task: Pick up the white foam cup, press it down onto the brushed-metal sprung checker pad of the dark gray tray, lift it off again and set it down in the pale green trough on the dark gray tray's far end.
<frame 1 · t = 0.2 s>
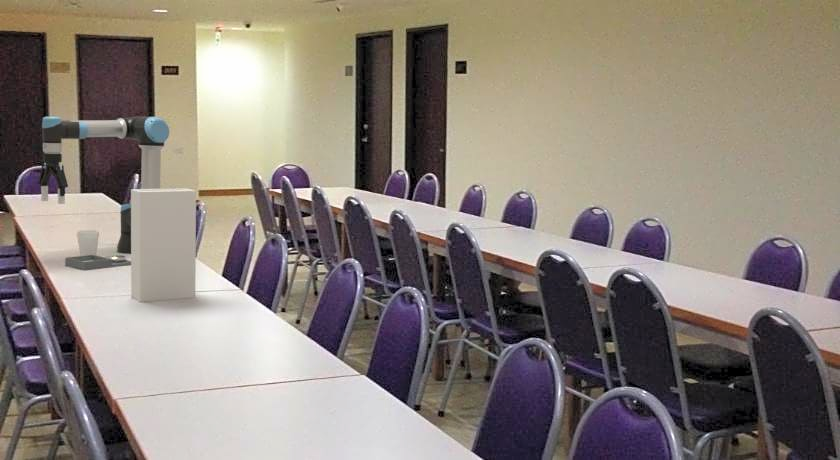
hand: (53, 202, 411), 27 cm above the table, fingers open, 13 cm apart
storage box: (163, 297, 356), on the table
foam cup: (88, 260, 430), on the table
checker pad: (114, 258, 423), point 2 cm above the table, slide at 0.0 cm
dark gray tray: (100, 264, 418), on the table
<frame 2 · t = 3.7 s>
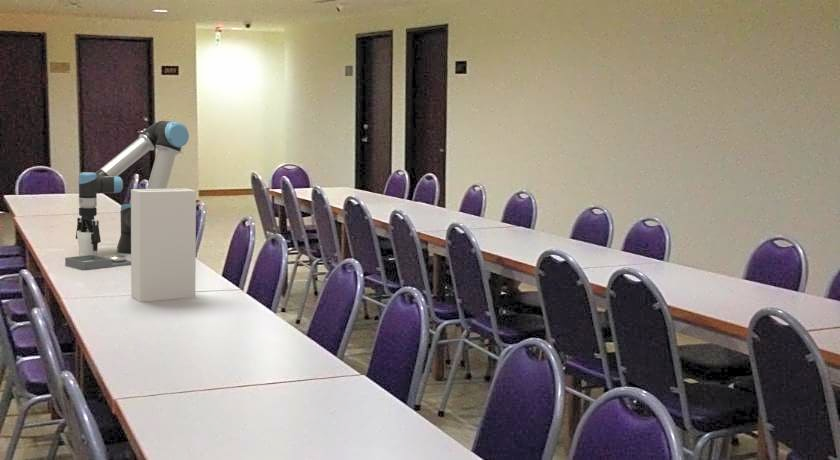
hand: (88, 256, 430), 2 cm above the table, fingers closed on foam cup, 9 cm apart
foam cup: (88, 260, 430), on the table, touching gripper
everything else where it was.
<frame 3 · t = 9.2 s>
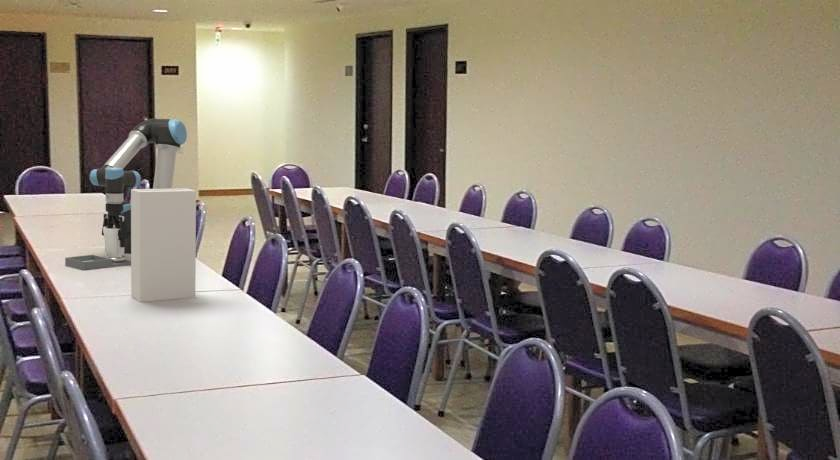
hand: (114, 253, 423), 5 cm above the table, fingers closed on foam cup, 9 cm apart
foam cup: (114, 256, 423), point 3 cm above the table, touching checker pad, gripper
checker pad: (114, 258, 423), point 2 cm above the table, slide at -0.2 cm, touching dark gray tray, foam cup
everything else where it was.
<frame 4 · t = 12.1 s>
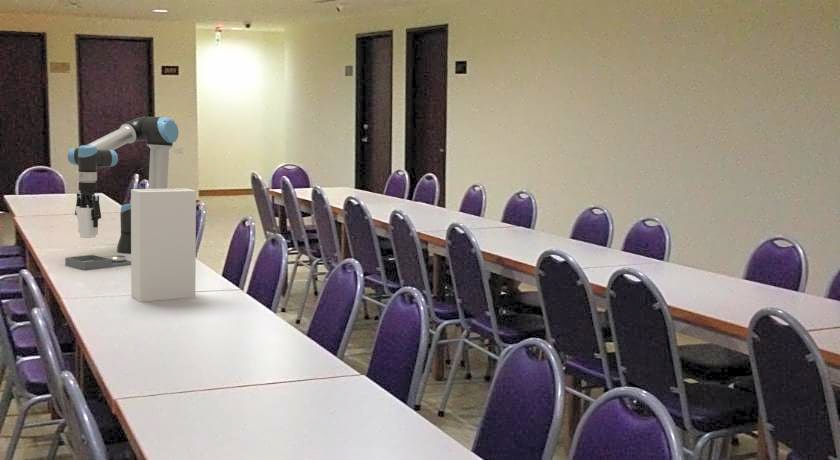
hand: (88, 233, 412), 14 cm above the table, fingers closed on foam cup, 9 cm apart
foam cup: (87, 237, 412), point 13 cm above the table, touching gripper
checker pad: (114, 258, 423), point 2 cm above the table, slide at -0.1 cm
everything else where it was.
when the fingers open (5 cm above the table, at t = 14.6 s): foam cup drops 2 cm, resting on dark gray tray.
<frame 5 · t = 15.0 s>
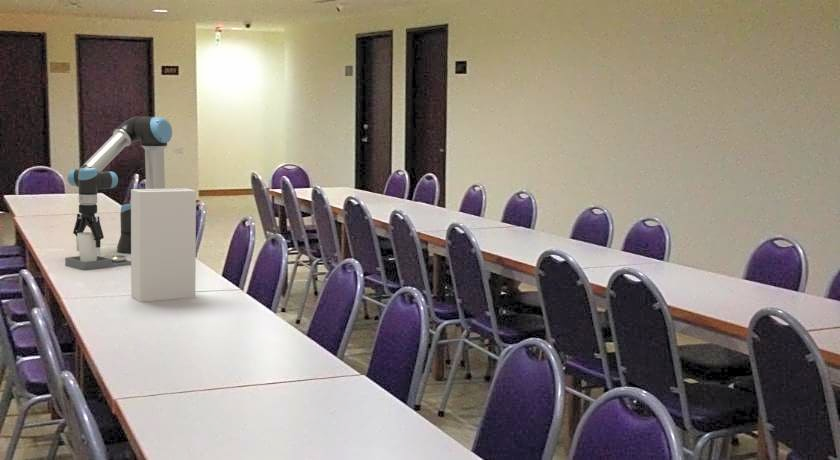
hand: (88, 252, 413), 6 cm above the table, fingers open, 13 cm apart
foam cup: (88, 263, 414), point 1 cm above the table, touching dark gray tray
everything else where it was.
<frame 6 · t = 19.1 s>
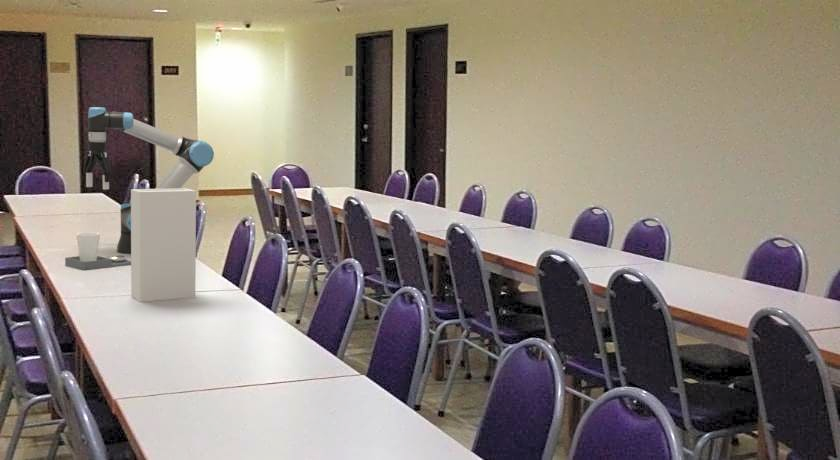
hand: (97, 188, 435), 32 cm above the table, fingers open, 13 cm apart
nothing on the table moved.
at the end: foam cup inside the target area on the dark gray tray (0.1 cm from its centre), point 1.0 cm above the dark gray tray's base; foam cup tilted 0°; the gripper is holding nothing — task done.
